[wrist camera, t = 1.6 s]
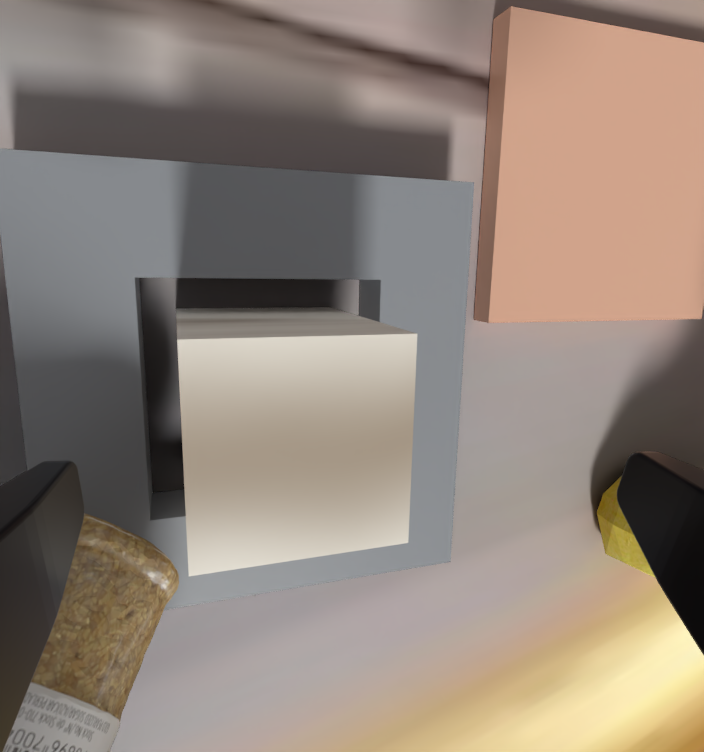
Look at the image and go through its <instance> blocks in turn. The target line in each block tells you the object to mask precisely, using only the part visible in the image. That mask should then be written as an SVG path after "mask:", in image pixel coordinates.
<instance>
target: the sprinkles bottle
mask: <svg viewBox="0 0 704 752" xmlns="http://www.w3.org/2000/svg"><path fill="white" fill-rule="evenodd" d="M178 585H179V575H178V572H177V570H176V568H175V567H174V565H173V563H172V562H171V560H170V559H169V558H168V557H167V556H166V555H165V554H164V553H163V552H162V551H160V550H159V549H158V548H157V547H156V546H155V545H154V544H152V543H151V542H149V541H148V540H146V539H144V538H142V537H140V536H138V535H136V534H133V533H131V532H130V531H128V530H125V529H123V528H121V527H119V526H117V525H115V524H112V523H110V522H108V521H105V520H103V519H100V518H97V517H95V516H92V515H89V514H86V513H84V519H83V524H82V527H81V531H80V535H79V538H78V542H77V546H76V549H75V553H74V557H73V560H72V564H71V568H70V572H69V575H68V579H67V583H66V586H65V590H64V594H63V597H62V601H61V604H60V608H59V611H58V614H57V617H56V620H55V623H54V625H53V628H52V631H51V633H50V636H49V638H48V641H47V643H46V646H45V648H44V651H43V653H42V656H41V658H40V661H39V663H38V666H37V668H36V671H35V673H34V676H33V678H32V681H31V683H30V686H29V688H28V690H27V693H26V695H25V698H24V700H23V703H22V705H21V708H20V710H19V713H18V715H17V718H16V720H15V723H14V725H13V728H12V730H11V733H10V735H9V738H8V740H7V743H6V745H5V748H4V750H3V752H110V749H111V747H112V744H113V742H114V739H115V737H116V734H117V732H118V729H119V726H120V719H121V714H122V711H123V709H124V707H125V704H126V701H127V699H128V696H129V693H130V690H131V688H132V686H133V683H134V680H135V678H136V676H137V674H138V671H139V669H140V667H141V664H142V661H143V658H144V654H145V652H146V650H147V648H148V646H149V644H150V642H151V639H152V637H153V635H154V632H155V629H156V627H157V625H158V623H159V620H160V618H161V615H162V613H163V610H164V608H165V606H166V604H167V603H168V602H169V601H170V599H171V598H172V596H173V595H174V593H175V592H176V591H177V588H178Z"/></svg>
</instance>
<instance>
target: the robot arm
mask: <svg viewBox="0 0 704 752" xmlns="http://www.w3.org/2000/svg"><path fill="white" fill-rule="evenodd" d="M617 501H618V504H619V507H620V509H621V511H622V513H623V515H624V517H625V519H626V521H627V523H628V525H629V526H630V528H631V530H632V532H633V534H634V536H635V538H636V540H637V542H638V544H639V546H640V548H641V550H642V552H643V554H644V556H645V558H646V560H647V562H648V564H649V566H650V568H651V570H652V572H653V574H654V575H655V577H656V579H657V581H658V583H659V585H660V586H661V588H662V590H663V591H664V593H665V595H666V596H667V598H668V599H669V601H670V603H671V604H672V606H673V607H674V609H675V611H676V612H677V614H678V615H679V617H680V618H681V620H682V622H683V623H684V625H685V626H686V628H687V630H688V631H689V633H690V634H691V636H692V638H693V639H694V641H695V642H696V644H697V645H698V647H699V649H700V650H701V652H702V653H703V655H704V470H702V469H699V468H697V467H694V466H692V465H689V464H687V463H684V462H682V461H680V460H677V459H675V458H672V457H670V456H667V455H665V454H663V453H660V452H656V451H642V452H634V453H632V454H631V455H630V456H629V458H628V460H627V463H626V466H625V468H624V471H623V474H622V477H621V480H620V483H619V486H618V489H617ZM83 519H84V502H83V496H82V490H81V485H80V479H79V473H78V469H77V466H76V464H75V463H74V462H72V461H44V462H41V463H39V464H38V465H36V466H34V467H33V468H31V469H29V470H27V471H26V472H24V473H22V474H21V475H19V476H17V477H15V478H14V479H12V480H10V481H9V482H7V483H5V484H3V485H2V486H0V752H3V750H4V748H5V745H6V743H7V740H8V738H9V735H10V733H11V730H12V728H13V725H14V723H15V720H16V718H17V715H18V713H19V710H20V708H21V705H22V703H23V700H24V698H25V695H26V693H27V690H28V688H29V686H30V683H31V681H32V678H33V676H34V673H35V671H36V668H37V666H38V663H39V661H40V658H41V656H42V653H43V651H44V648H45V646H46V643H47V641H48V638H49V636H50V633H51V631H52V628H53V625H54V623H55V620H56V617H57V614H58V611H59V608H60V604H61V601H62V597H63V594H64V590H65V586H66V583H67V579H68V575H69V572H70V568H71V564H72V560H73V557H74V553H75V549H76V546H77V542H78V538H79V535H80V531H81V527H82V524H83Z"/></svg>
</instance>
